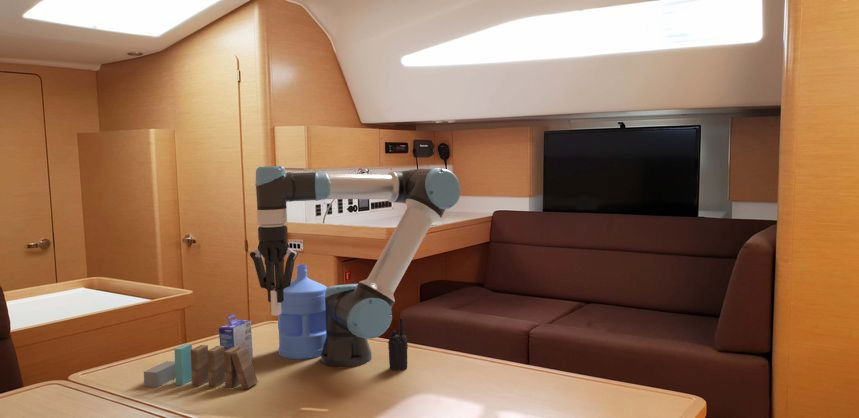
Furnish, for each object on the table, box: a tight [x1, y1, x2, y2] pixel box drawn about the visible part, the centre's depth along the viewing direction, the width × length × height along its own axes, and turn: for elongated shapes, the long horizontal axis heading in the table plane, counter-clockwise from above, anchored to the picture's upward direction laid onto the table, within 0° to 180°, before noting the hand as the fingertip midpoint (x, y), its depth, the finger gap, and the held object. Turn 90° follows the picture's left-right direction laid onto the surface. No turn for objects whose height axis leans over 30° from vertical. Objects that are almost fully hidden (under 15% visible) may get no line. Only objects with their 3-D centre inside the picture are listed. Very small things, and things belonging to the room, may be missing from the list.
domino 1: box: [191, 344, 209, 388], centre depth 180 cm, size 2×5×10 cm, turn 166°
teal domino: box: [174, 343, 193, 387], centre depth 181 cm, size 2×5×10 cm, turn 166°
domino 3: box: [224, 347, 241, 390], centre depth 178 cm, size 2×5×10 cm, turn 166°
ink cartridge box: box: [218, 314, 254, 360], centre depth 198 cm, size 10×6×14 cm, turn 164°
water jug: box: [277, 264, 328, 360], centre depth 207 cm, size 16×16×28 cm
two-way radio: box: [388, 317, 408, 371], centre depth 188 cm, size 6×4×15 cm
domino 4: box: [231, 347, 259, 391], centre depth 177 cm, size 2×5×10 cm, turn 166°
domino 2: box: [207, 345, 225, 389], centre depth 179 cm, size 2×5×10 cm, turn 166°
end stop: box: [143, 360, 176, 388], centre depth 183 cm, size 4×10×4 cm, turn 166°
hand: (276, 314), depth 174 cm, fingers closed
